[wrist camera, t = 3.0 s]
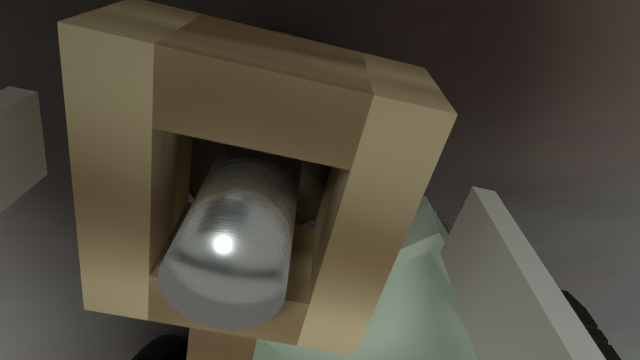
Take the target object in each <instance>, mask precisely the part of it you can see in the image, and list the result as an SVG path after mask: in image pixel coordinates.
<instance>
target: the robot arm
mask: <svg viewBox="0 0 640 360" xmlns="http://www.w3.org/2000/svg"><path fill="white" fill-rule="evenodd" d="M46 175H47V165H46V157H45V148H44V140H43V131H42V123H41V114H40V106H39V97H38V92H35V91H31V90H26V89H22V88H17V87H12V86H8V87H6V88H4V89H2V90H0V213H1V212H2V211H4V210H5V209H6V208H7V207H8V206H10V205H11V204H12V203H13V202H15V201H16V200H17V199H18V198H19V197H21V196H22V195H23V194H24V193H26V192H27V191H28V190H29V189H30V188H32V187H33V186H34V185H35V184H36V183H38V182H39V181H40V180H41V179H43V178H44V177H45V176H46ZM440 254H441V257H442V260H443V262H444V265H445V268H446V271H447V274H448V277H449V280H450V282H451V285H452V288H453V291H454V294H455V297H456V299H457V302H458V305H459V308H460V311H461V314H462V317H463V319H464V322H465V325H466V328H467V331H468V334H469V336H470V339H471V342H472V345H473V348H474V351H475V354H476V356H477V359H478V360H621V359H620V357H619V356H618V354H617V353H616V352H615V350H614V349H613V347H612V346H611V345H608V340H607V339H606V337H605V336H604V334H603V333H602V331H601V330H599V329H598V328H597V327H598V326H597V324H596V323H595V321H594V320H593V318H592V317H591V316H590V314H589V313H588V311H587V310H586V308H585V307H584V306H583V305H581V304H580V303H579V302H578V301H577V300H576V299H575V298H574V297H573V296H572V295H571V294H570V293H569V292H567V291H563V290H560V289H559V287H558V286H557V284H556V283H555V281H554V280H553V278H552V277H551V275H550V274H549V272H548V271H547V269H546V268H545V266H544V265H543V263H542V261H541V260H540V258H539V257H538V255H537V254H536V252H535V251H534V249H533V248H532V246H531V245H530V243H529V242H528V240H527V239H526V237H525V236H524V234H523V233H522V231H521V230H520V228H519V227H518V225H517V224H516V222H515V221H514V219H513V217H512V216H511V214H510V213H509V211H508V210H507V208H506V207H505V205H504V204H503V202H502V201H501V199H500V198H499V196H498V195H497V193H496V192H495V191H492V190H488V189H483V188H478V187H474V186H472V188H471V190H470V192H469V194H468V196H467V198H466V200H465V202H464V204H463V206H462V208H461V210H460V212H459V215H458V217H457V219H456V221H455V223H454V225H453V227H452V229H451V231H450V233H449V235H448V237H447V239H446V241H445V243H444V245H443V248H442V250H441V252H440Z"/></svg>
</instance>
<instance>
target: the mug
mask: <svg viewBox="0 0 640 360" xmlns="http://www.w3.org/2000/svg"><path fill="white" fill-rule="evenodd" d="M187 348H188V341H183V340H178V339H177V338H176V337H175V336H172V335H163V336H160V337H158V338H156V339H154V340H152V341H151V342H149V343H148V344H147V345H146V346H145V347H144V348H143V349H142V350H141V351H140V352H139V353H138V354H137V355H136V356H135V357H134V358H133V359H132V360H186V358H187Z"/></svg>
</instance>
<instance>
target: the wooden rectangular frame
mask: <svg viewBox="0 0 640 360" xmlns="http://www.w3.org/2000/svg"><path fill="white" fill-rule="evenodd" d="M57 26H58V37H59V48H60V59H61V69H62V80H63V91H64V101H65V112H66V123H67V133H68V144H69V155H70V165H71V176H72V187H73V198H74V208H75V219H76V230H77V240H78V251H79V262H80V272H81V283H82V294H83V304H84V310H89V311H95V312H101V313H107V314H112V315H118V316H124V317H130V318H136V319H142V320H148V321H154V322H160V323H166V324H172V325H177V326H183V327H189V338H188V348H187V358H186V360H252V359H253V355H254V351H255V346H256V342H257V339H260V340H266V341H272V342H278V343H284V344H290V345H296V346H302V347H307V348H313V349H319V350H325V351H331V352H337V353H343V354H349V355H355V354H356V352H357V349H358V347H359V345H360V342H361V340H362V338H363V335H364V333H365V331H366V328H367V326H368V324H369V321H370V319H371V317H372V314H373V312H374V310H375V307H376V305H377V303H378V300H379V298H380V295H381V293H382V291H383V288H384V286H385V284H386V281H387V279H388V277H389V274H390V272H391V270H392V267H393V265H394V263H395V260H396V258H397V256H398V253H399V251H400V249H401V246H402V244H403V242H404V239H405V237H406V235H407V232H408V230H409V228H410V225H411V223H412V221H413V218H414V216H415V214H416V211H417V209H418V207H419V204H420V202H421V200H422V197H423V195H424V193H425V190H426V188H427V186H428V183H429V181H430V179H431V176H432V174H433V172H434V169H435V167H436V165H437V162H438V160H439V157H440V155H441V153H442V150H443V148H444V146H445V143H446V141H447V139H448V136H449V134H450V132H451V129H452V127H453V125H454V122H455V120H456V118H457V115H458V114H457V113H456V111H455V110H454V108H453V107H452V106H451V104H450V103H449V101H448V100H447V99H446V97H445V96H444V94H443V93H442V91H441V90H440V89H439V87H438V86H437V84H436V83H435V81H434V80H433V79H432V77H431V76H430V74H429V73H428V72H427V70H426V69H425V68H424V67H420V66H416V65H412V64H407V63H403V62H399V61H395V60H391V59H387V58H383V57H378V56H374V55H370V54H366V53H362V52H358V51H354V50H349V49H345V48H341V47H337V46H333V45H329V44H325V43H321V42H316V41H312V40H308V39H304V38H300V37H296V36H292V35H287V34H283V33H279V32H275V31H271V30H267V29H263V28H258V27H254V26H250V25H246V24H242V23H238V22H234V21H229V20H225V19H221V18H217V17H213V16H209V15H205V14H200V13H196V12H192V11H188V10H184V9H180V8H176V7H171V6H167V5H163V4H159V3H155V2H151V1H147V0H124V1H120V2H117V3H114V4H111V5H108V6H105V7H101V8H98V9H95V10H92V11H89V12H86V13H83V14H79V15H76V16H73V17H70V18H67V19H64V20H60V21H57ZM193 137H196V138H201V139H205V140H210V141H215V142H219V143H224V144H229V145H234V146H238V147H243V148H248V149H252V150H257V151H262V152H266V153H271V154H276V155H280V156H285V157H290V158H295V159H299V160H304V161H309V162H313V163H318V164H323V165H327V166H331V168H330V172H329V175H328V179H327V183H326V186H325V190H324V193H323V197H322V201H321V204H320V208H319V211H318V215H317V219H316V222H315V226H314V228H313V227H308V226H302V225H297V224H295V226H294V233H293V241H292V249H291V257H290V265H289V273H288V281H287V289H286V296H285V300H284V303H283V305H282V307H281V309H280V310H279V311H278V313H277V314H276V315H275V316H273V317H272V318H271V319H270V320H268V321H267V322H265V323H263V324H261V325H258V326H256V327H252V328H248V329H243V330H220V329H214V328H209V327H206V326H202V325H200V324H197V323H195V322H193V321H191V320H189V319H187V318H185V317H184V316H182V315H181V314H179V313H178V312H177V311H176V310H174V309H173V308H172V307H171V306H170V304H169V303H168V302H167V301H166V299H165V298H164V296H163V294H162V292H161V289H160V286H159V281H158V274H159V268H160V265H161V263H162V261H163V259H164V257H165V255H166V253H167V251H168V249H169V248H170V246H171V244H172V242H173V240H174V238H175V236H176V234H177V232H178V230H179V228H180V226H181V224H182V222H183V220H184V218H185V217H186V215H187V213H188V211H189V209H190V207H191V205H192V204H191V203H188V195H189V182H190V169H191V156H192V143H193Z"/></svg>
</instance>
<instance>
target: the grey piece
mask: <svg viewBox="0 0 640 360" xmlns="http://www.w3.org/2000/svg"><path fill="white" fill-rule="evenodd" d="M275 32H279V31H275ZM279 33H283V34H287V35H292V36H296V37H300V38H304V39H307V38H305V37H303V36H301V35H297V34H294V33H289V32H279ZM308 40H310V39H308ZM330 168H331V166H327V165H323V164H318V163H313V162H309V161H304V160H299V159H295V158H290V157H285V156H280V155H276V154H271V153H266V152H262V151H257V150H252V149H248V148H243V147H238V146H234V145H229V144H224V143H219V142H215V141H210V140H205V139H201V138H196V137H193V143H192V156H191V169H190V182H189V192H190V194H191V195H192V196H193V197H194V201H193V203H192V205H191V207H190V209H189V211H188V213H187V215H186V217H185V218H184V220H183V222H182V224H181V226H180V228H179V230H178V232H177V234H176V236H175V238H174V240H173V242H172V244H171V246H170V248H169V249H168V251H167V253H166V255H165V257H164V259H163V261H162V263H161V265H160V268H159V274H158V281H159V286H160V289H161V292H162V294H163V296H164V298H165V299H166V301H167V302H168V303H169V304H170V306H171V307H172V308H173V309H174V310H176V311H177V312H178V313H179V314H181V315H182V316H184V317H185V318H187V319H189V320H191V321H193V322H195V323H197V324H200V325H202V326H206V327H209V328H214V329H220V330H243V329H248V328H252V327H256V326H258V325H261V324H263V323H265V322H267V321H268V320H270V319H271V318H272V317H273V316H275V315H276V314H277V313H278V311H279V310H280V309H281V307H282V305H283V303H284V300H285V296H286V289H287V281H288V273H289V265H290V257H291V249H292V241H293V233H294V226H295V224H297V225H302V224H305V223H307V222H309V221H311V220H313V219H315V218H316V217H317V215H318V211H319V208H320V204H321V201H322V197H323V193H324V190H325V186H326V183H327V179H328V175H329V172H330Z"/></svg>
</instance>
